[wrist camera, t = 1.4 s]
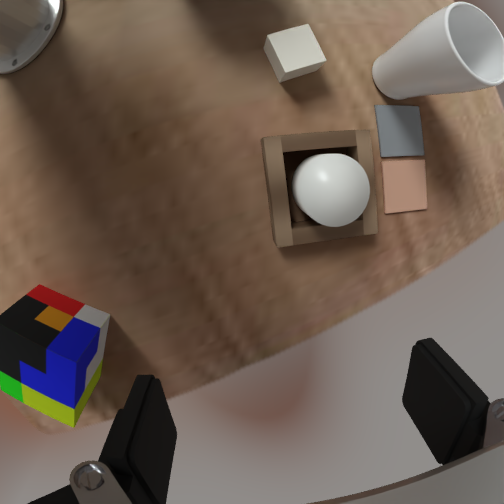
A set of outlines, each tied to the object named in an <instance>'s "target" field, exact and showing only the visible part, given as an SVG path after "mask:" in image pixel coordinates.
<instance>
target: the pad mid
mask: <svg viewBox="0 0 504 504" xmlns="http://www.w3.org/2000/svg"><path fill="white" fill-rule="evenodd" d="M374 107H375V114H376V121H377V129H378V137H379V147H380V156H381V157H390V156H415V155H424V145H423V135H422V126H421V118H420V111H419V106H399V105H374Z"/></svg>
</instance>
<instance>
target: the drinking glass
mask: <svg viewBox="0 0 504 504" xmlns="http://www.w3.org/2000/svg"><path fill="white" fill-rule="evenodd" d="M372 76H373V80H374V82H375V84H376V86H377V87H378V89H379V90H380V91H381V92H382V93H383V94H384V95H386V96H388V97H390V98H392V99H396V100H402V99H407V98H410V97H418V96H427V95H438V94H452V93H464V92H470V91H476V90H481V89H485V88H489V87H493V86H497V85H500V84H502V83H503V82H504V38H503V36H502V34H501V32H500V31H499V29H498V28H497V26H496V25H495V23H494V22H493V21H492V20H491V19H490V18H489V16H488V15H486V14H485V13H484V12H483V11H482V10H480V9H479V8H477V7H476V6H474V5H472V4H469V3H466V2H455V3H452V4H451V5H448V6H446V7H444V8H442V9H440V10H438V11H436V12H435V13H433V14H431V15H430V16H428V17H427V18H425V19H424V20H423V21H421V22H420V23H419V24H417V25H416V26H415V27H414V28H413V29H412V30H410V31H409V32H408V33H407V34H406V35H405V36H404V37H402V38H401V39H400V40H399V41H398V42H397V43H396V44H394V45H393V46H392V47H391V48H390V49H389V50H387V51H386V52H385V53H383V54H382V55H380V56H379V57H378V58H377V59H376V60H375V62H374V64H373V67H372Z"/></svg>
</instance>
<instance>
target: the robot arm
mask: <svg viewBox="0 0 504 504" xmlns="http://www.w3.org/2000/svg"><path fill="white" fill-rule="evenodd" d="M62 11H63V0H0V74H8V73H12V72H15V71H17V70H19V69H21V68H23V67H24V66H26V65H27V64H29V63H30V62H31V61H32V60H33V59H35V58H36V57H37V56H38V54H39V53H40V52H41V51H42V50H43V49H44V48H45V46H46V45H47V44H48V42H49V41H50V39H51V38H52V36H53V35H54V33H55V31H56V29H57V27H58V25H59V22H60V19H61V16H62ZM402 402H403V405H404V407H405V409H406V411H407V412H408V414H409V415H410V417H411V419H412V420H413V422H414V424H415V425H416V427H417V428H418V430H419V432H420V434H421V435H422V437H423V438H424V440H425V442H426V444H427V445H428V447H429V449H430V450H431V452H432V454H433V455H434V457H435V459H436V461H437V462H438V463H439V464H443V466H440V467H438V468H435V469H433V470H430V471H428V472H425V473H422V474H419V475H417V476H414V477H411V478H408V479H405V480H402V481H399V482H396V483H393V484H389V485H386V486H383V487H379V488H376V489H372V490H368V491H364V492H361V493H357V494H352V495H348V496H344V497H340V498H335V499H330V500H325V501H320V502H314V503H308V504H504V398H501V399H497V400H495V401H493V402H492V403H490V402H489V401H488V397H487V396H486V395H485V393H484V392H483V391H482V390H481V389H480V388H479V387H478V386H477V385H476V384H475V382H473V380H472V379H471V378H470V377H469V376H468V375H467V374H466V373H465V372H464V371H463V370H462V369H461V368H460V366H458V364H457V363H456V362H455V361H454V360H453V359H452V358H451V357H450V356H449V355H448V354H447V353H446V352H445V351H444V350H443V349H442V348H441V347H440V346H439V345H438V344H437V343H436V342H435V341H434V340H433V339H432V338H427V339H423V340H419V341H417V342H416V345H414V346H413V348H412V352H411V358H410V363H409V369H408V374H407V379H406V383H405V388H404V393H403V398H402ZM176 439H177V431H176V427H175V424H174V421H173V419H172V416H171V413H170V410H169V407H168V404H167V401H166V398H165V395H164V392H163V388H162V385H161V382H160V380H159V379H155V377H154V375H137V377H136V379H135V382H134V384H133V387H132V389H131V391H130V394H129V396H128V399H127V401H126V404H125V406H124V409H120V410H118V412H117V414H116V417H115V419H114V421H113V424H112V426H111V429H110V431H109V434H108V437H107V439H106V442H105V444H104V447H103V449H102V452H101V455H100V457H99V460H98V461H86V462H82V463H80V464H79V465H77V466H76V467H75V468H74V469H73V470H72V472H71V474H70V479H69V480H70V485H67V486H65V487H63V488H61V489H59V490H57V491H55V492H52V493H50V494H48V495H46V496H44V497H41V498H39V499H36V500H34V501H32V502H30V503H28V504H166V498H167V492H168V486H169V480H170V474H171V468H172V462H173V456H174V450H175V445H176Z"/></svg>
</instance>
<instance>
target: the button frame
mask: <svg viewBox="0 0 504 504" xmlns="http://www.w3.org/2000/svg"><path fill="white" fill-rule="evenodd" d="M261 146H262V154H263V161H264V169H265V177H266V185H267V193H268V200H269V209H270V217H271V225H272V233H273V240H274V242H275V244H276V246H277V248H278V247H285V246H292V245H299V244H306V243H313V242H320V241H328V240H335V239H342V238H349V237H356V236H363V235H370V234H377V233H378V227H377V205H376V189H375V176H374V164H373V154H372V144H371V135H370V130H346V131H329V132H314V133H302V134H291V135H281V136H271V137H263V138H262V139H261ZM337 147H346V148H347V156H349V157H351V158H352V159H354V160H355V161H357V162H358V163H359V164H360V165H361V166H362V168H363V169H364V171H365V172H366V174H367V177H368V180H369V185H370V195H369V200H368V203H367V206H366V208H365V210H364V211H363V212H362V214H361V215H360V216H359V217H358V218H357V219H356V220H354V221H353V222H351V223H349V224H347V225H344V226H340V227H330V226H325V225H322V224H320V223H318V222H317V221H315V220H306V221H298V222H291V219H290V210H289V201H288V193H287V184H286V176H285V168H284V160H283V152H291V151H301V150H312V149H324V148H337Z"/></svg>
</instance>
